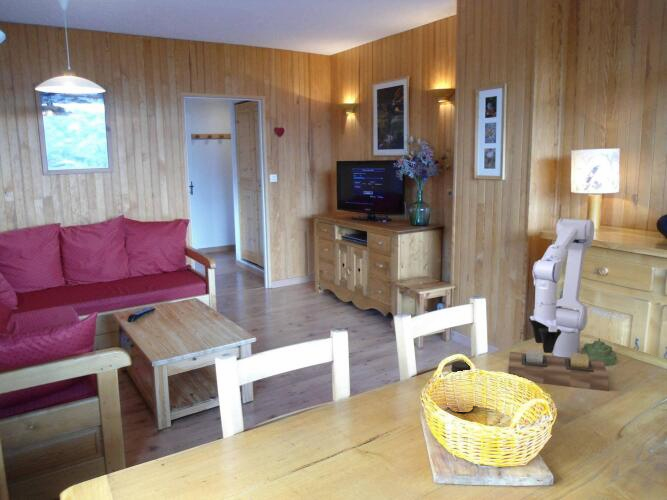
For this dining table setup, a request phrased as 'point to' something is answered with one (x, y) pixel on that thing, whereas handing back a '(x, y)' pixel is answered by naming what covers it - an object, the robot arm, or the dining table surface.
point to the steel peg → (534, 356)
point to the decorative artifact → (600, 352)
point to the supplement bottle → (459, 366)
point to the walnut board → (560, 372)
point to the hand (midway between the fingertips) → (543, 347)
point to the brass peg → (579, 360)
